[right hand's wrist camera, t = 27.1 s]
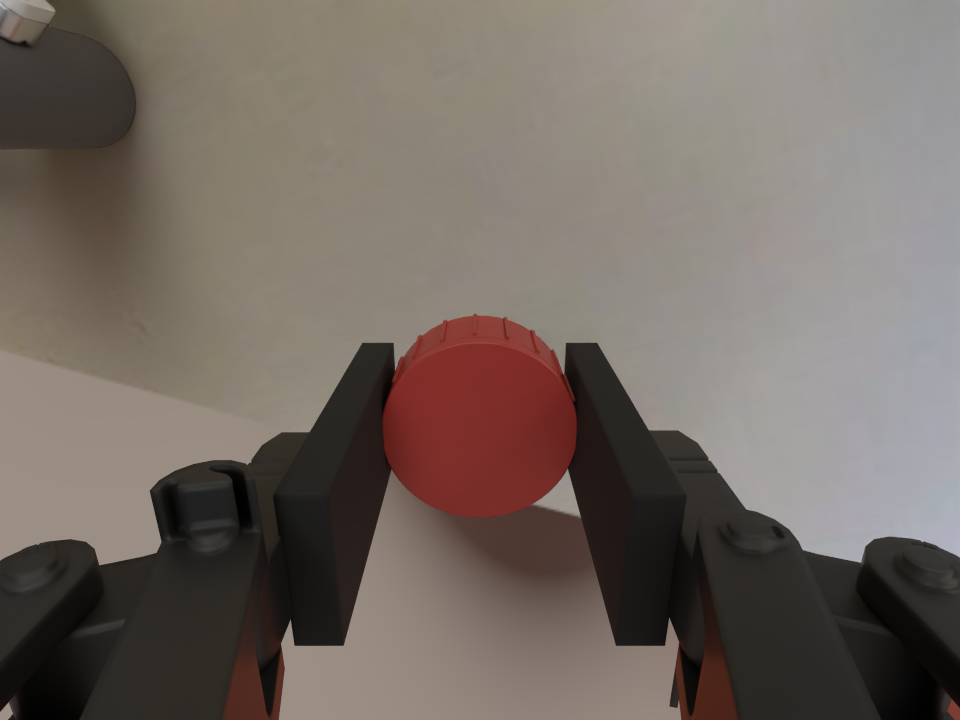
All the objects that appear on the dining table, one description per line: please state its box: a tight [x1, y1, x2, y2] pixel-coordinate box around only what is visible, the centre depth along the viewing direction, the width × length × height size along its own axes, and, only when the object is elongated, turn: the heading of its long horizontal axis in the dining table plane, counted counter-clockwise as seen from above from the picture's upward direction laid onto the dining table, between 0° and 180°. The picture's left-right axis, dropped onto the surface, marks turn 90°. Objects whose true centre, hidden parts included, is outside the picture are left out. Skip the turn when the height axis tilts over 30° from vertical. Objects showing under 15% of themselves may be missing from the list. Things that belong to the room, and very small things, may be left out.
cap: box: [382, 314, 577, 518], centre depth 13 cm, size 4×4×2 cm
